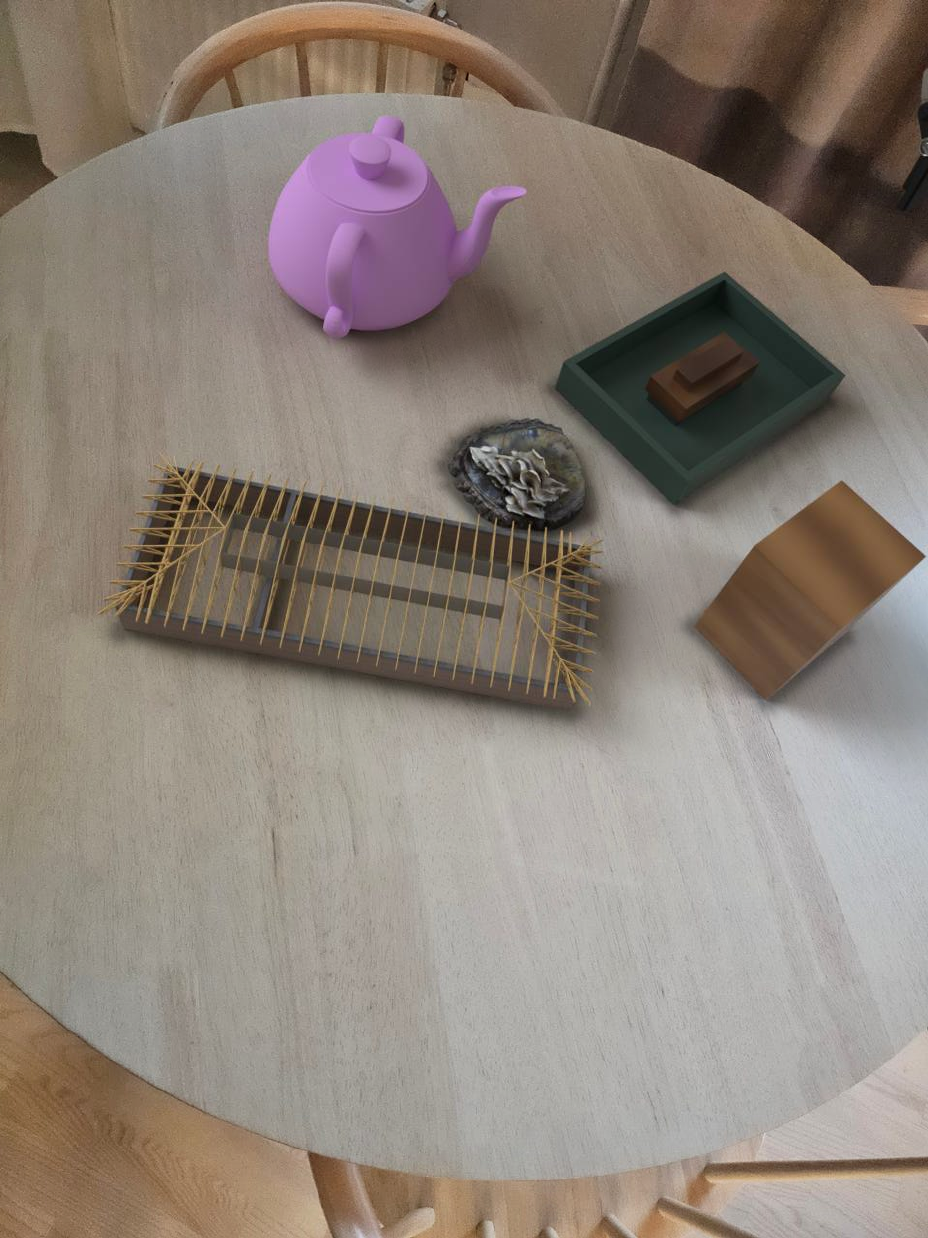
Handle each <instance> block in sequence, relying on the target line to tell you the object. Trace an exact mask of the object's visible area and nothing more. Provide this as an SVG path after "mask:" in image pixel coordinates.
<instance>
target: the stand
mask: <svg viewBox="0 0 928 1238" xmlns="http://www.w3.org/2000/svg"><path fill="white" fill-rule="evenodd" d="M926 557H927V556H926V554H924V553H923V551H921V550H920V549H918V547H916V546H915V544H913V542H911V541H910V540H909V539H907V538H906V536H904V535H903V534H902V533H901V532H900V531H899V530H897V528H895V526H893V525H892V524H891V523H890V522H889V521H888V520H886V519H885V517H883V515H881V514H880V513H879V512H878V511H877V510H876V509H874V508H873V507H872V506H871V505H870V504H869V503H868V502H867V501H866V500H864V498H862V496H860V495H859V494H858V493H857V492H856V491H855V490H853V488H851V487H850V486H849V485H848V484H847V483H845V481H843V480H840V481H839V482H837V483H836V484H834V485H833V486H832V487H830V488H829V489H827V490H826V491H825V492H824V493H823V494H821V495H819V496H818V497H817V498H816V499H814V500H813V501H812V502H810V503H809V504H808V505H806V506H805V507H804V508H803V509H801V510H800V511H799V512H797V513H795V515H793V516H792V517H791V518H788V520H786V521H785V522H784V523H783V524H781V525H780V526H778V527H777V528H776V529H774V530H773V531H771V532H770V533H769V534H768V535H766V536H765V537H764V538H763V539H761V540H760V541H758V542H757V543H756V544H754V545H753V547H752V548H751V549H750V551H748V553H747V555H746V556H745V558H744V559H743V560H742V562H741V563H740V564H739V565H738V567H737V568H736V570H734V572H733V573H732V574H731V576H730V578H729V579H728V580H727V581H726V583H725V584H724V586H723V587H722V588H721V590H720V591H719V592H718V593H717V595H716V596H715V597H714V599H713V601H712V602H711V603H710V604H709V606H708V607H707V608H706V610H705V611H704V612H703V614H702V615H701V616H700V618H699V619H698V620H697V622H696V623H695V624H694V628H695V629H696V630H697V631H698V632H699V633H700V634H701V635H702V636H703V637H704V638H705V639H706V641H708V642H709V643H710V644H711V645H712V647H714V649H716V651H718V652H719V654H721V656H723V658H724V659H725V660H726V661H727V662H728V663H729V664H730V665H731V666H732V667H733V668H734V669H735V670H736V671H737V672H738V673H739V674H740V675H741V676H742V677H743V678H744V679H745V681H747V682H748V683H749V684H750V685H751V686H752V688H753V689H754V690H755V691H756V692H757V693H759V694H760V696H762V698H764V700H766V701H768V700H769V699H770V698H771V697H772V696H774V695H775V694H777V693H778V691H780V690H781V689H782V688H784V686H786V685H787V684H788V683H789V682H790V681H791V680H793V679H794V678H795V677H796V676H797V675H798V674H800V673H801V672H802V671H803V670H804V669H806V668H807V667H808V666H809V665H810V664H811V663H812V662H814V661H815V660H816V659H817V658H818V657H819V656H821V655H822V654H823V653H824V652H825V651H826V650H828V649H829V648H830V647H831V646H832V645H833V644H834V643H836V642H837V641H838V640H839V639H840V638H842V637H843V636H844V635H845V634H847V632H848V631H849V630H850V629H851V628H852V627H853V626H855V625H856V624H857V623H858V622H859V621H860V620H861V619H862V618H863V617H864V616H865V615H866V614H867V613H868V612H869V611H870V610H872V609H873V608H874V606H876V605H877V604H878V603H879V602H880V601H881V600H882V599H884V597H885V596H886V595H887V594H888V593H889V592H891V590H893V589H894V588H895V587H896V586H897V585H898V584H899V583H900V582H901V581H902V580H903V579H904V578H905V577H907V575H908V574H910V572H912V571H913V570H914V569H915V568H916V567H917V566H918V565H919V564H920V563H921V562H922V561H923V560H924V559H925V558H926Z"/></svg>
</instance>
